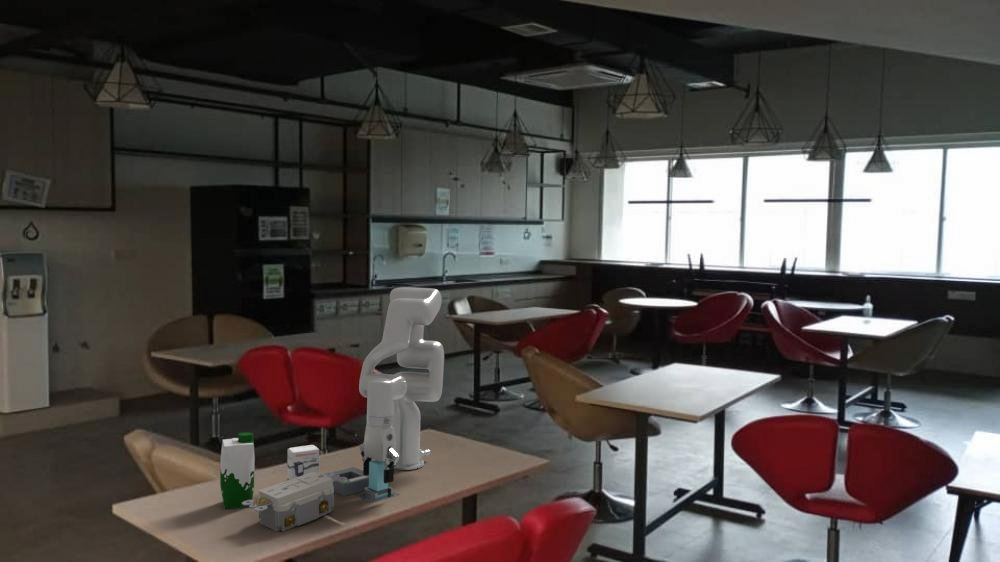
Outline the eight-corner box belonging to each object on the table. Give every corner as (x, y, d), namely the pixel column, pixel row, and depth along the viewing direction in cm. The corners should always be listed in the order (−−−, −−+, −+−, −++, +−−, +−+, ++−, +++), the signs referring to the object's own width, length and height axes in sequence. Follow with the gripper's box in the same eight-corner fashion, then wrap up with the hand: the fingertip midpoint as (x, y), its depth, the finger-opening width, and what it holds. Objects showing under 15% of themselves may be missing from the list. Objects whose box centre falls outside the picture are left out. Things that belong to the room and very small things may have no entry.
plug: (379, 491, 227) (380, 458, 227) (388, 495, 225) (388, 461, 224) (368, 494, 224) (369, 461, 224) (376, 498, 222) (377, 464, 221)
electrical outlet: (353, 508, 213) (352, 474, 212) (263, 544, 191) (262, 506, 190) (327, 498, 221) (326, 464, 219) (238, 531, 199) (236, 495, 198)
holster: (383, 489, 231) (383, 481, 231) (399, 496, 225) (400, 488, 225) (356, 497, 224) (356, 488, 223) (372, 504, 218) (372, 495, 218)
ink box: (291, 490, 228) (292, 452, 227) (286, 485, 232) (287, 447, 231) (319, 486, 233) (319, 448, 232) (313, 481, 237) (314, 444, 236)
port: (353, 479, 240) (353, 465, 239) (376, 488, 231) (376, 474, 231) (320, 487, 231) (320, 473, 231) (343, 497, 223) (343, 482, 222)
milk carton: (255, 507, 213) (256, 437, 212) (221, 510, 210) (221, 439, 209) (252, 496, 221) (253, 429, 220) (219, 500, 218) (219, 431, 217)
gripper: (408, 424, 220) (406, 482, 221) (372, 414, 232) (370, 469, 232) (388, 428, 214) (386, 488, 215) (351, 417, 226) (350, 474, 227)
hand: (378, 478), depth 224 cm, fingers open, 9 cm apart
